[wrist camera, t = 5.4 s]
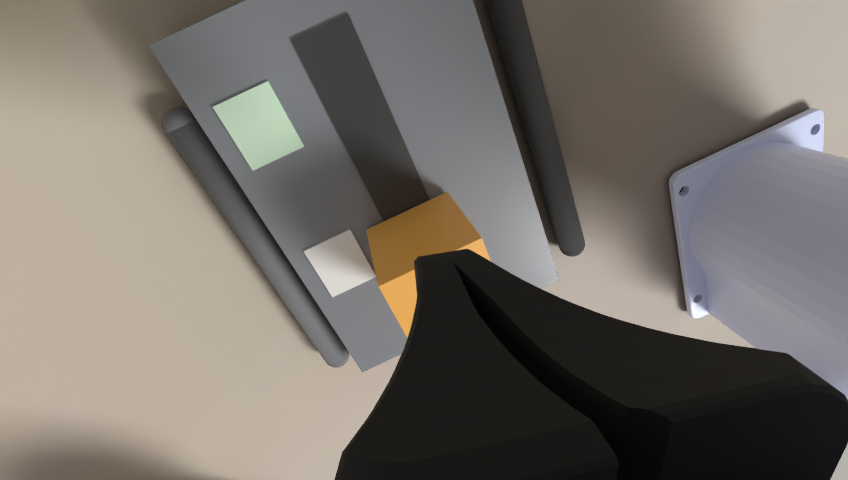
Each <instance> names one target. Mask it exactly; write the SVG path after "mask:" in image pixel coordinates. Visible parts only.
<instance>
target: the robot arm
mask: <svg viewBox="0 0 848 480" xmlns="http://www.w3.org/2000/svg"><path fill="white" fill-rule="evenodd" d="M823 136H824V112H823V111H822V110H820V109H815V108H811V109H808V110H806V111H804V112H802V113H800V114H797V115H795V116H793V117H791V118H789V119H787V120H785V121H782V122H780V123H778V124H776V125H774V126H772V127H770V128H768V129H765V130H763V131H761V132H759V133H757V134H755V135H753V136H751V137H748V138H746V139H744V140H742V141H740V142H738V143H736V144H733V145H731V146H729V147H727V148H725V149H723V150H721V151H719V152H716V153H714V154H712V155H710V156H708V157H706V158H704V159H701V160H699V161H697V162H695V163H693V164H691V165H689V166H687V167H684V168H682V169H680V170H678V171H676V172H675V173H673V175H672V176H671V177H670V180H669V189H670V196H671V203H672V210H673V217H674V224H675V231H676V238H677V245H678V252H679V259H680V266H681V273H682V280H683V287H684V294H685V301H686V308H687V313H688V315H690V316H691V317H692V318H694V319H697V318H701V317H703V316H705V315H707V314H709V313H710V314H711V315H713V316H714V317H715V318H717V319H718V320H719V321H721V322H722V323H723V324H725V325H726V326H727V327H729V328H730V329H731V330H732V331H734V332H735V333H736V334H738V335H739V336H740V337H742V338H743V339H744V340H746V341H747V342H748V343H750V344H751V345H752V346H754V347H755V348H756V349H755V348H748V347H741V346H734V345H727V344H720V343H714V342H709V341H704V340H699V339H694V338H689V337H684V336H679V335H674V334H670V333H666V332H662V331H658V330H654V329H650V328H646V327H642V326H639V325H635V324H632V323H628V322H625V321H621V320H618V319H615V318H612V317H609V316H606V315H603V314H600V313H597V312H594V311H592V310H589V309H586V308H584V307H581V306H578V305H576V304H573V303H571V302H568V301H566V300H564V299H561V298H559V297H557V296H555V295H553V294H550V293H548V292H546V291H544V290H542V289H540V288H538V287H536V286H534V285H532V284H530V283H528V282H526V281H524V280H522V279H521V278H519V277H517V276H515V275H513V274H511V273H510V272H508V271H506V270H504V269H503V268H501V267H499V266H498V265H496V264H494V263H492V262H491V261H489V260H487V259H486V258H484V257H482V256H481V255H479V254H477V253H475V252H473V251H472V250H469V249H462V250H456V251H450V252H444V253H437V254H431V255H425V256H418V257H417V259H416V260H415V261H414V268H415V279H416V290H417V301H416V307H415V311H414V316H413V320H412V325H411V328H410V332H409V335H408V338H407V341H406V344H405V347H404V350H403V352H402V355H401V357H400V359H399V362H398V364H397V366H396V369H395V371H394V373H393V375H392V377H391V379H390V381H389V383H388V385H387V386H386V388H385V390H384V392H383V393H382V395H381V397H380V398H379V400H378V402H377V404H376V405H375V407H374V409H373V410H372V412H371V414H370V415H369V417H368V418H367V420H366V421H365V422H364V424H363V425H362V426H361V428H360V429H359V430H358V432H357V433H356V435H355V436H354V437H353V439H352V440H351V441H350V443H349V444H348V445H347V447H346V448H345V449H344V451H343V452H342V455H341V459H340V462H339V466H338V469H337V473H336V477H335V480H830V478H831V477H832V475H833V472H834V470H835V468H836V466H837V464H838V462H839V460H840V458H841V456H842V454H843V452H844V450H845V448H846V445H847V443H848V400H847V399H848V159H847V158H843V157H839V156H835V155H831V154H827V153H824V152H823ZM682 187H683V190H682V191H681V192H680V189H681V188H682ZM679 192H680V193H679ZM695 296H696V297H695Z"/></svg>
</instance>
